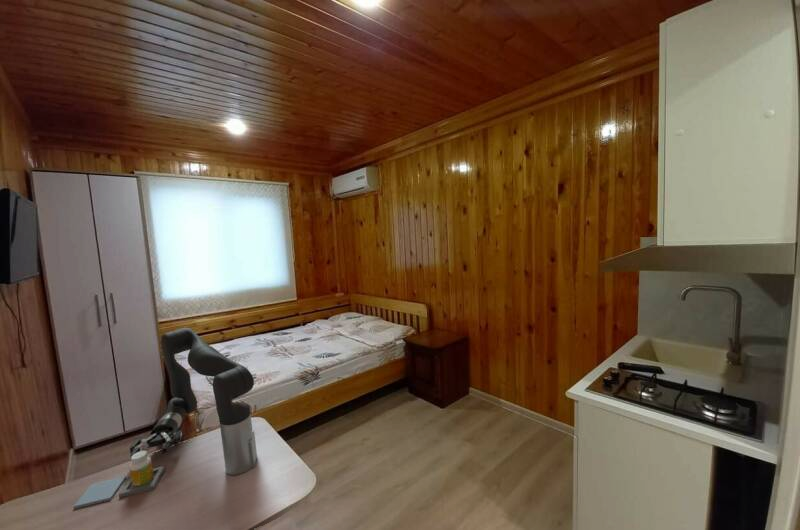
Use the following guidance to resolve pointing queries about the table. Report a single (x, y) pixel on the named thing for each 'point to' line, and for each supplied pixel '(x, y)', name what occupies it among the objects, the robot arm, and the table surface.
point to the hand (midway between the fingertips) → (148, 455)
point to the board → (100, 492)
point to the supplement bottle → (141, 469)
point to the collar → (128, 491)
